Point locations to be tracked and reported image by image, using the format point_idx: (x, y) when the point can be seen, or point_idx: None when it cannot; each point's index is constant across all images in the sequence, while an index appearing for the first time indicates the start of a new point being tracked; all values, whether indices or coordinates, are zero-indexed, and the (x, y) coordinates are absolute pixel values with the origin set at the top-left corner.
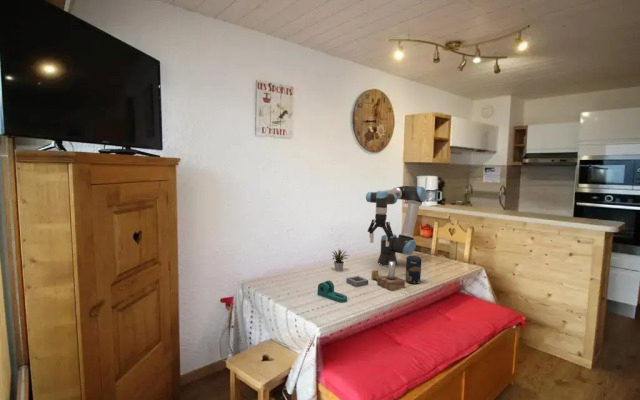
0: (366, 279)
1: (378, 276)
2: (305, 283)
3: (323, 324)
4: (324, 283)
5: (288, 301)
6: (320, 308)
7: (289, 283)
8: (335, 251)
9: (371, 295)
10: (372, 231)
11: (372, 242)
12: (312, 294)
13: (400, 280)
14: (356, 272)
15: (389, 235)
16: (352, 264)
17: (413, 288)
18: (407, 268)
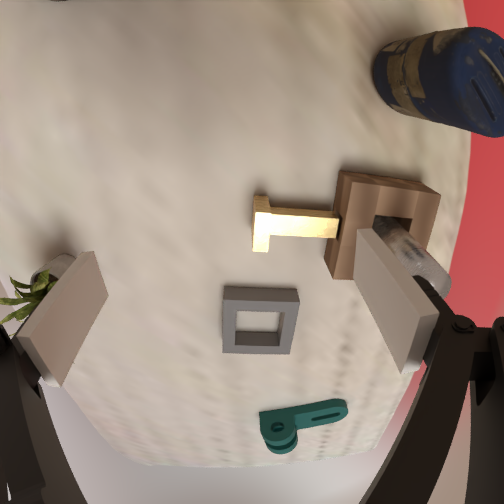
0: (287, 303)
1: (301, 235)
2: (173, 414)
3: (373, 446)
4: (286, 451)
5: (261, 459)
6: (329, 439)
7: (159, 431)
8: (4, 321)
9: (372, 340)
10: (39, 401)
11: (98, 267)
12: (256, 431)
13: (430, 219)
14: (118, 215)
15: (470, 380)
16: (9, 148)
17: (446, 156)
18: (436, 120)
